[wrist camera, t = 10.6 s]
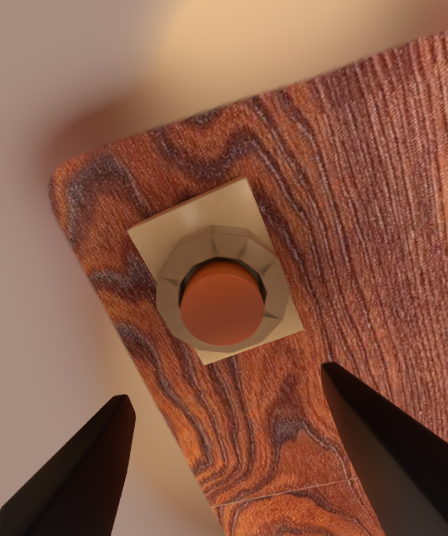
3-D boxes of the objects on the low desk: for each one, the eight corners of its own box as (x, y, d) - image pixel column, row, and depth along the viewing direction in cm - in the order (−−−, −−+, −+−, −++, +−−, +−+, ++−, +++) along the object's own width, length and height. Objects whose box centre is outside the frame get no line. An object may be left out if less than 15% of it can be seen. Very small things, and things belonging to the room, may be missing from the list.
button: (171, 277, 14) (165, 292, 12) (243, 248, 13) (246, 260, 12) (204, 336, 15) (202, 357, 14) (270, 312, 15) (276, 330, 13)
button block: (137, 222, 17) (113, 239, 13) (243, 174, 16) (250, 178, 12) (205, 345, 20) (201, 386, 16) (295, 312, 19) (313, 348, 15)
